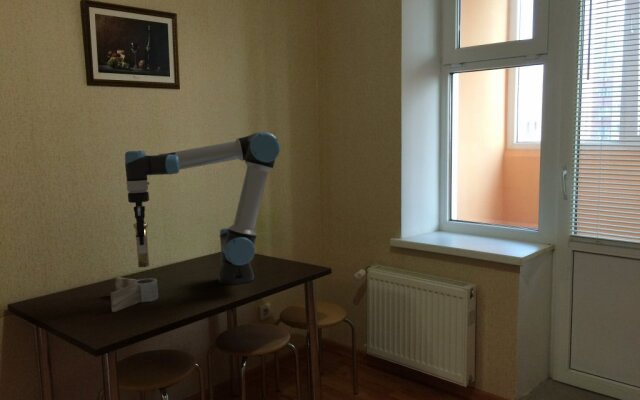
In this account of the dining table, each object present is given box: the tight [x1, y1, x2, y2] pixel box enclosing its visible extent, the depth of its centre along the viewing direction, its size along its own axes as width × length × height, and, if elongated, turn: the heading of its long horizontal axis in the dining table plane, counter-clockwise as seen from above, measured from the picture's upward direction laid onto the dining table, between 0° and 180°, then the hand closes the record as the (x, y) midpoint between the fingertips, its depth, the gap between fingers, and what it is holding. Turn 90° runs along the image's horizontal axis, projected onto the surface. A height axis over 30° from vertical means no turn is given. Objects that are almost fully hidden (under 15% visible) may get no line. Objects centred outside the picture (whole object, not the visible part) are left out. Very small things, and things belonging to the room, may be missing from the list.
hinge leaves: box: [110, 276, 141, 313], centre depth 200 cm, size 17×17×7 cm
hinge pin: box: [133, 222, 150, 268], centre depth 201 cm, size 5×5×17 cm
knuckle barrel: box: [134, 277, 159, 303], centre depth 203 cm, size 8×8×7 cm
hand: (142, 251), depth 201 cm, fingers closed on hinge pin, 4 cm apart
